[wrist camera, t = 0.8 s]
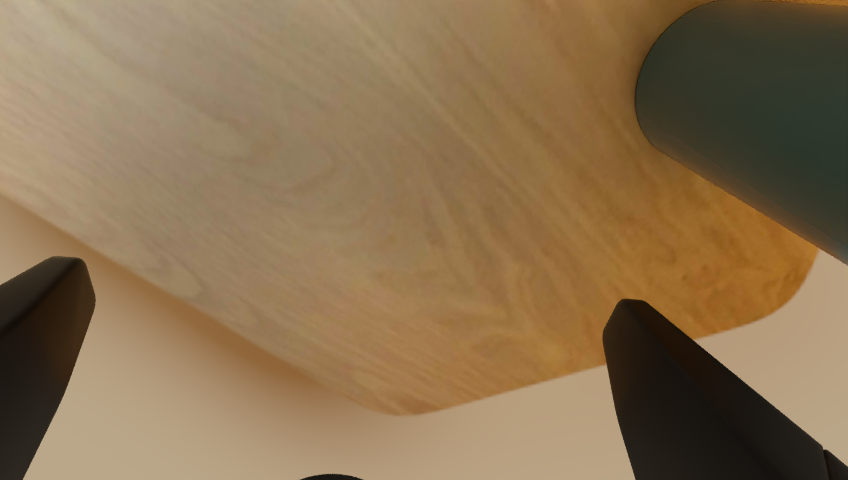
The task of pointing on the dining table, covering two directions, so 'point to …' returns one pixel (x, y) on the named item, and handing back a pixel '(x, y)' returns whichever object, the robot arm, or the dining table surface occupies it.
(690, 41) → the can
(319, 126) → the dining table surface
